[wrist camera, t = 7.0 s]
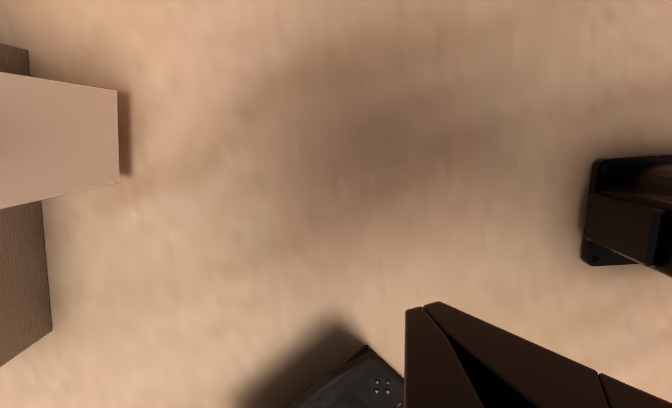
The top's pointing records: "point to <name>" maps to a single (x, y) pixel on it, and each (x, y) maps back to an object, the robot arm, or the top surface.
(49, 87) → the block
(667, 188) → the robot arm
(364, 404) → the handheld gaming console
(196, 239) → the top surface
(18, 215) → the rail board
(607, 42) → the top surface
